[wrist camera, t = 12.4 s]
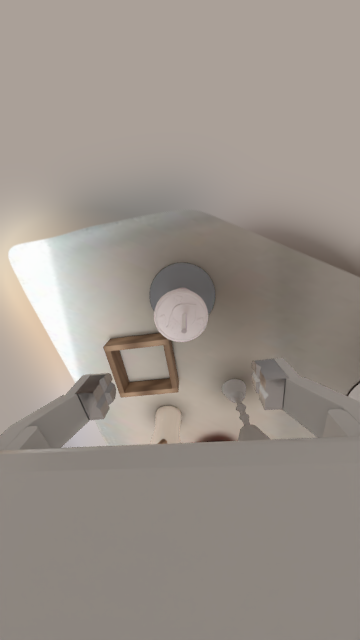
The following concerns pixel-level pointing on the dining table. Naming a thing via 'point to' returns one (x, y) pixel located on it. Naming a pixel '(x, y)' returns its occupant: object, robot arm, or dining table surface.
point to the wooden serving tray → (141, 386)
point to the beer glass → (167, 425)
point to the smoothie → (181, 315)
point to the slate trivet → (183, 283)
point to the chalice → (242, 410)
